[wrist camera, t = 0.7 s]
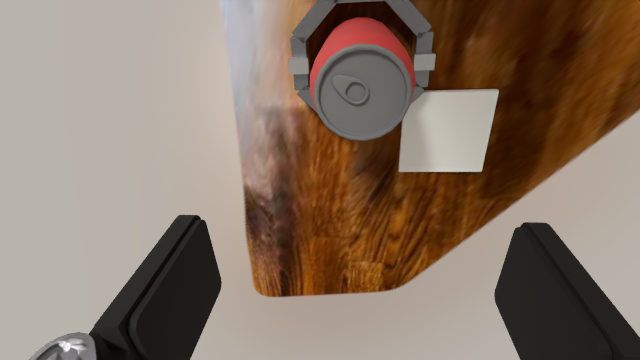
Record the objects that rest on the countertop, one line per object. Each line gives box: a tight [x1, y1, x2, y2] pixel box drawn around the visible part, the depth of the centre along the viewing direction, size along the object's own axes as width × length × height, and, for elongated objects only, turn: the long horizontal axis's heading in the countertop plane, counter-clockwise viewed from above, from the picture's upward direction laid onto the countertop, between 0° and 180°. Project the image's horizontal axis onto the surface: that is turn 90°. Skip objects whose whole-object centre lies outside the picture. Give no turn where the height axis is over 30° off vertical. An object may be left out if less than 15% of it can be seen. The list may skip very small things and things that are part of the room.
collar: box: [288, 0, 436, 112], centre depth 28 cm, size 11×12×3 cm
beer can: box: [310, 17, 416, 141], centre depth 24 cm, size 7×7×12 cm
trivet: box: [398, 89, 499, 172], centre depth 32 cm, size 8×8×1 cm
